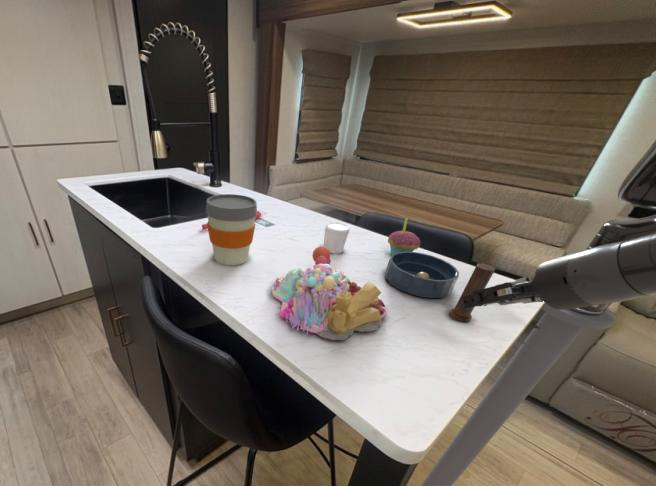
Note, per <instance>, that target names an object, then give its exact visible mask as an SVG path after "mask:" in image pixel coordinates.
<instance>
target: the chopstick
mask: <svg viewBox="0 0 656 486" xmlns="http://www.w3.org/2000/svg"><path fill="white" fill-rule="evenodd" d="M261 216H262V213H261V212H260V211H259V210H257V215H256V217H255V220H256V219H259V218H261ZM207 223H208V222H206V223H202V224H201V231H205V230H208V226H207Z"/></svg>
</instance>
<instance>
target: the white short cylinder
mask: <svg viewBox="0 0 656 486" xmlns="http://www.w3.org/2000/svg"><path fill="white" fill-rule="evenodd" d="M349 233H350V227H349V226H348V225H346V224H344V223H339V222H329V223H326V224H325V226H324V236H323V245H322V246H324V247H326V248H328V250H329V251H330V254H341V253H342V252H343V251H344V247H345V245H346V241H347V239H348V236H349Z"/></svg>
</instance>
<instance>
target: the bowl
mask: <svg viewBox="0 0 656 486" xmlns="http://www.w3.org/2000/svg"><path fill="white" fill-rule="evenodd" d="M420 272H425V273H427V274H428V275H429V279H426V278H422V277H419V276H416V275H417V274H418V273H420ZM384 277H385V279H386V280H387V281H388V283H389V284H390V285H392V286H393V287H395V288H396V289H397V290H398V289H399V290H401V291H403V292H405V293H407V294H410V295H413V296H417V297H421V298H427V299H440V298H445V297H447V296H450V294H451V293H452V292H453V290H454V287H455V285H456V284H457V281H458V279H459V277H460V272H459V271H458V269H457V267H455V266H454V265H453V264H451V263H450V262H448V261H447V260H444V259H443V258H440V257H437V256H434V255H431V254H427V253H422V252H416V251H412V252H398V253H395V254H393V255H391V256H390V257H389V260H388V263H387V266H386V269H385V271H384Z"/></svg>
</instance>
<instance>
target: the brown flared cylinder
mask: <svg viewBox="0 0 656 486" xmlns="http://www.w3.org/2000/svg"><path fill="white" fill-rule="evenodd" d="M495 271H496V268H495V267H494V266H493V265H490V264H486V263H482V262H481V263H479V262H478V263H477V264H476V265H475V267H474V269H473V271H472V273H471V276H470V277H469V279H468V281H467V283H466V285H465V287H464V288H463V291H462V293H461V295H460V297H459V298H458V301H457V303H456V304H455V306H454V307H453V308H451V309H450V310H449V312H448V316H449V317H450V319H452V320H453V321H455V322H457V323H460V324H468V323H470V322H471V321H472V318H473V315H472V313H473V310H474V309H475V307H472V308H463V306H462V302H461V297H463V296H467V295H471V294H473V293H472V292H473V291H474V290H481V289H485V288H487V285H488V284H489V282H490V280H491V278H492V277H493V275H494V273H495Z"/></svg>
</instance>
